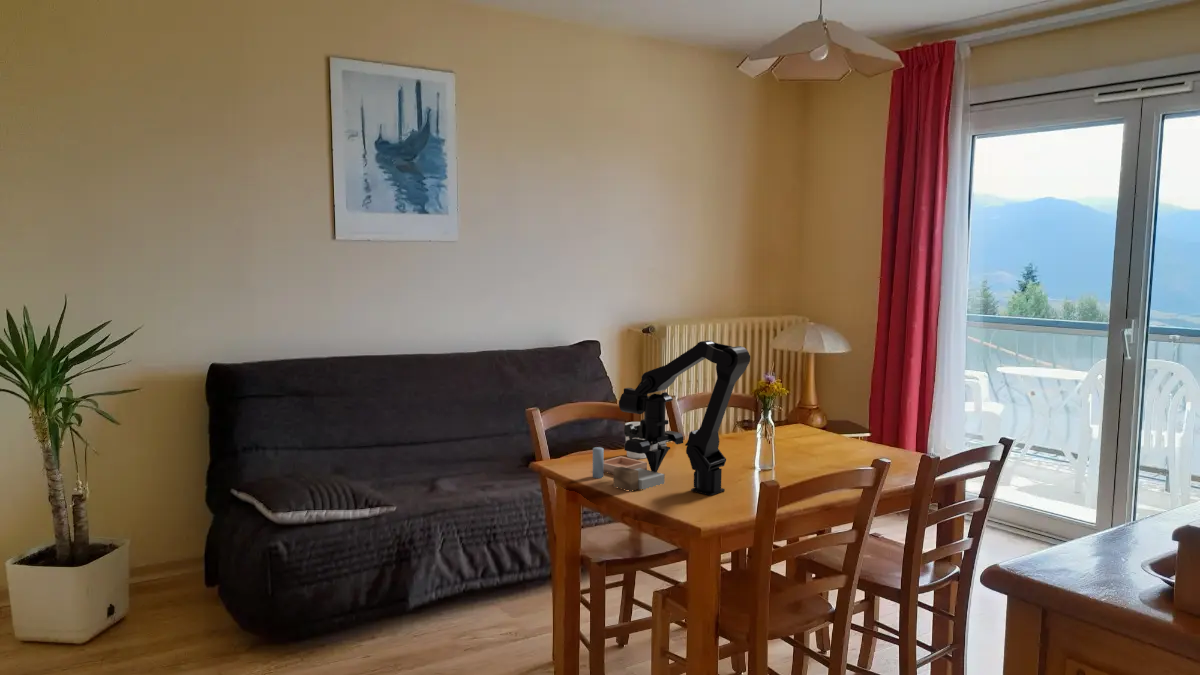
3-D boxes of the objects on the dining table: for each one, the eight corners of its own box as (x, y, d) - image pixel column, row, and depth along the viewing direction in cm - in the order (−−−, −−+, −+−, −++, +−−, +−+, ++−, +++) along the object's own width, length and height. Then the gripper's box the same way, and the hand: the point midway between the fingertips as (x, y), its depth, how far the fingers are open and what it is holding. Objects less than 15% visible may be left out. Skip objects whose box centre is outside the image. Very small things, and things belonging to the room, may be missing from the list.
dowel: (605, 476, 226) (605, 448, 225) (598, 479, 224) (598, 450, 223) (597, 474, 228) (598, 446, 227) (590, 476, 226) (590, 448, 225)
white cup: (655, 455, 251) (655, 423, 251) (643, 460, 245) (643, 427, 244) (632, 452, 255) (632, 420, 255) (620, 457, 249) (620, 424, 248)
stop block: (638, 489, 214) (638, 470, 213) (630, 491, 212) (630, 472, 211) (621, 484, 218) (621, 466, 217) (613, 487, 216) (613, 468, 215)
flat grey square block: (664, 485, 220) (664, 474, 219) (642, 491, 213) (642, 480, 213) (639, 478, 226) (639, 468, 226) (617, 484, 220) (617, 473, 219)
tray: (646, 470, 233) (647, 462, 233) (623, 476, 226) (623, 468, 226) (620, 464, 240) (621, 456, 240) (597, 470, 233) (597, 462, 233)
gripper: (654, 408, 234) (653, 461, 235) (609, 417, 220) (609, 473, 222) (684, 413, 226) (684, 468, 227) (641, 422, 213) (640, 481, 214)
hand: (654, 472), depth 223 cm, fingers closed
